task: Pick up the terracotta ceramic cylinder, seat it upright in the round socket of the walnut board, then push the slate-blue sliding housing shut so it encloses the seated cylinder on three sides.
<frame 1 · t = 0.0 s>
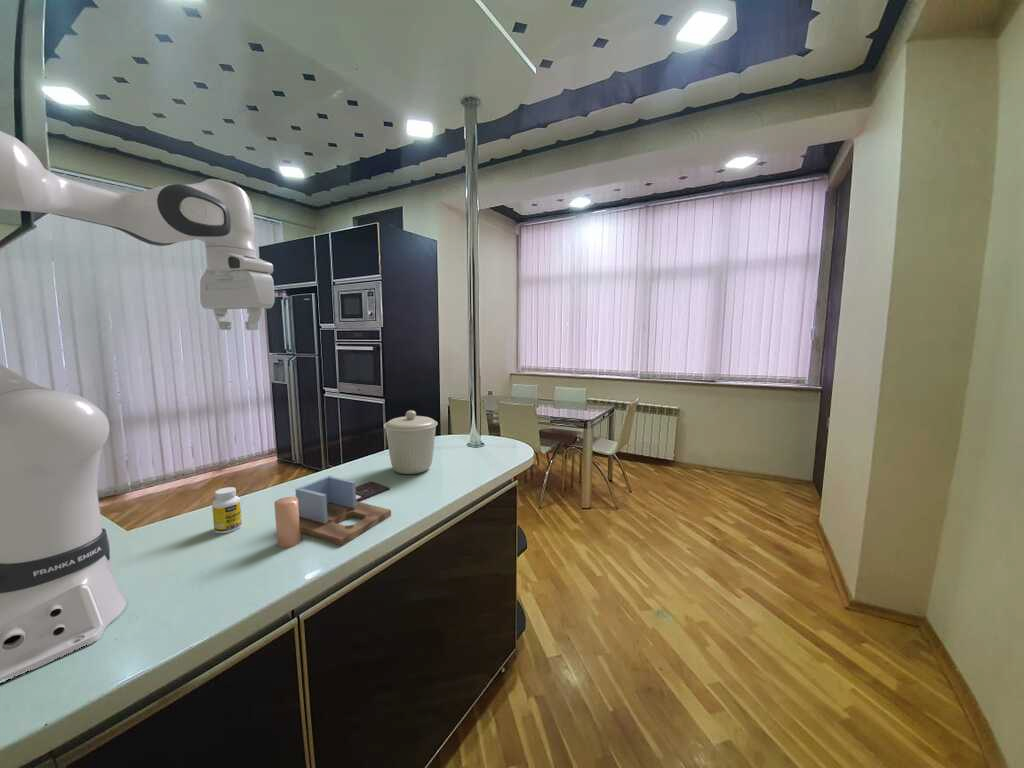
hand: (238, 330, 84), 48 cm above the counter, fingers open, 8 cm apart
supplement bottle: (228, 529, 93), on the counter
socket board: (338, 521, 98), on the counter
peg: (289, 542, 87), on the counter
canister: (412, 469, 135), on the counter
housing: (326, 498, 98), point 5 cm above the counter, slide at 0.0 cm
chocolate bar: (354, 498, 113), on the counter
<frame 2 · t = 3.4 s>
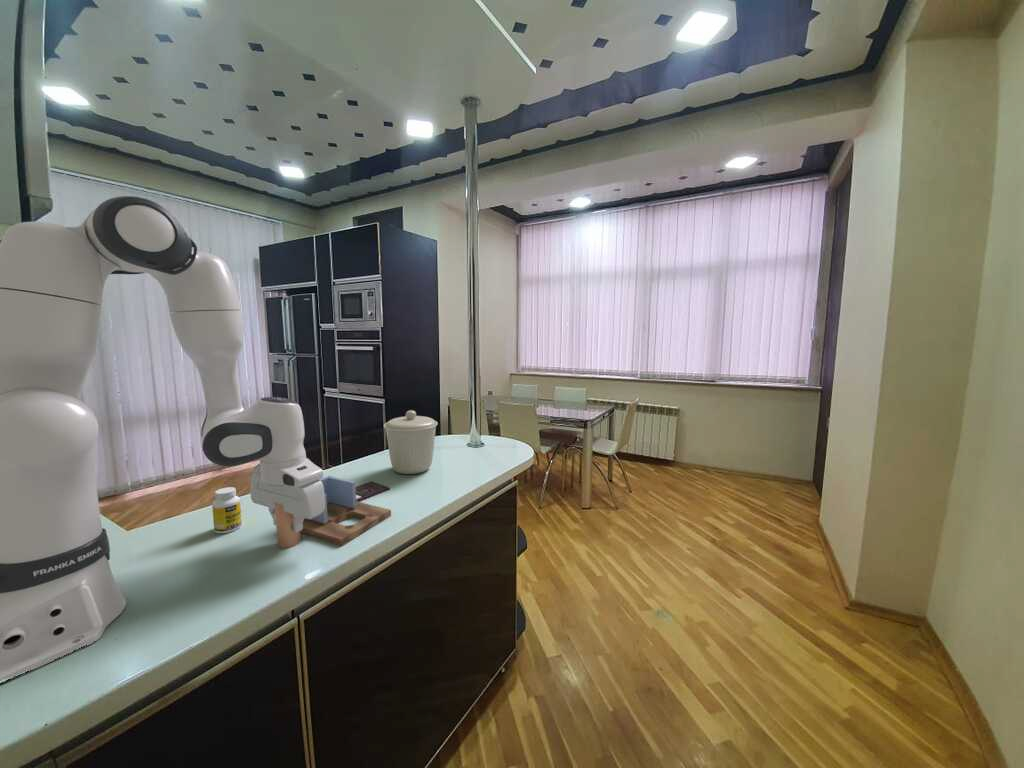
hand: (288, 527, 87), 4 cm above the counter, fingers closed on peg, 5 cm apart
peg: (289, 542, 87), on the counter, touching gripper
everything else where it was.
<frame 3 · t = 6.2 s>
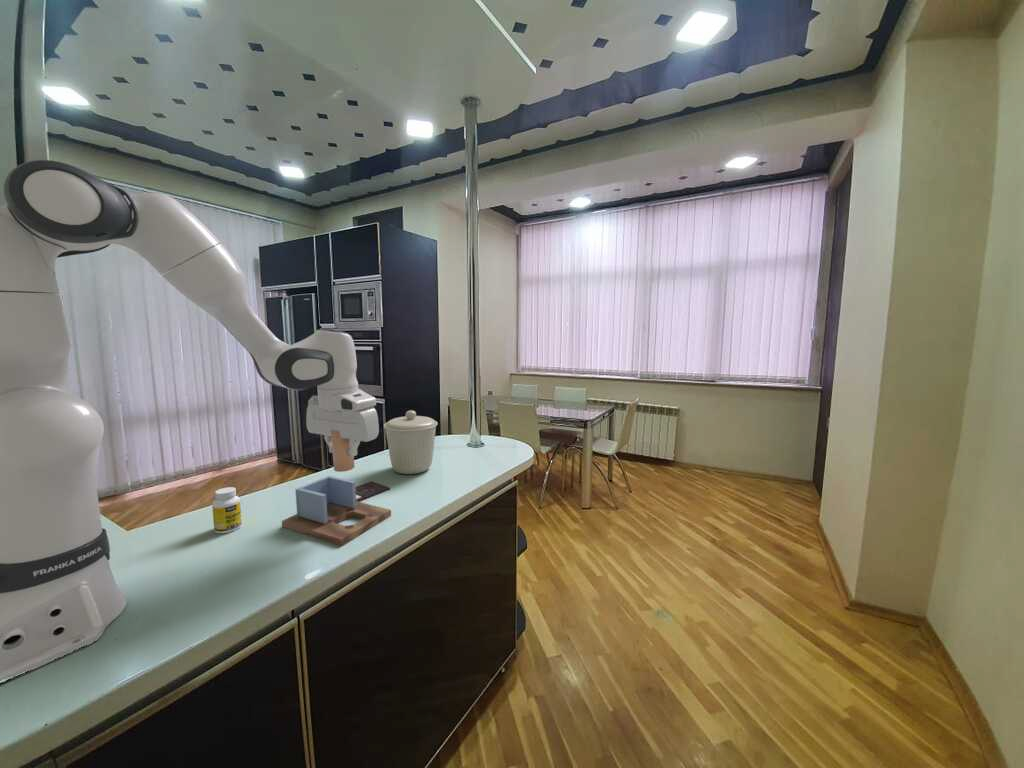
hand: (343, 454, 93), 18 cm above the counter, fingers closed on peg, 5 cm apart
peg: (344, 468, 94), point 15 cm above the counter, touching gripper
everything else where it was.
when the fingers open (5 cm above the counter, at t = 9.0 s): peg drops 1 cm, resting in socket board.
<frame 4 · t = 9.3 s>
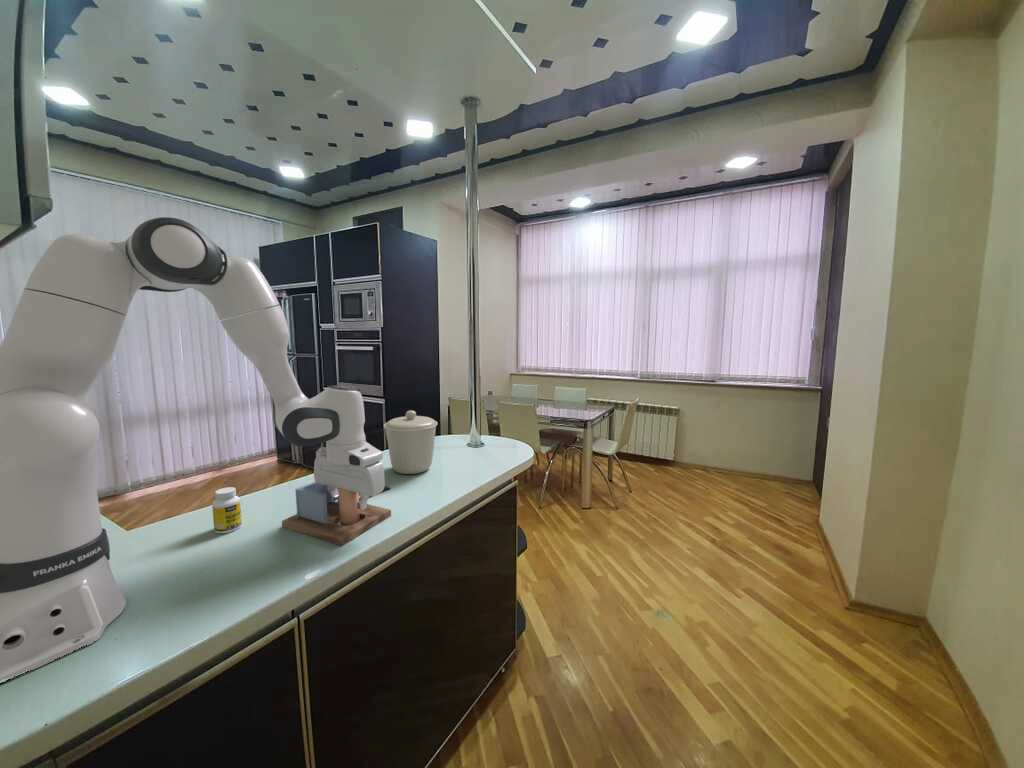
hand: (349, 505, 95), 5 cm above the counter, fingers open, 7 cm apart
peg: (350, 524, 96), resting in socket board
everything else where it was.
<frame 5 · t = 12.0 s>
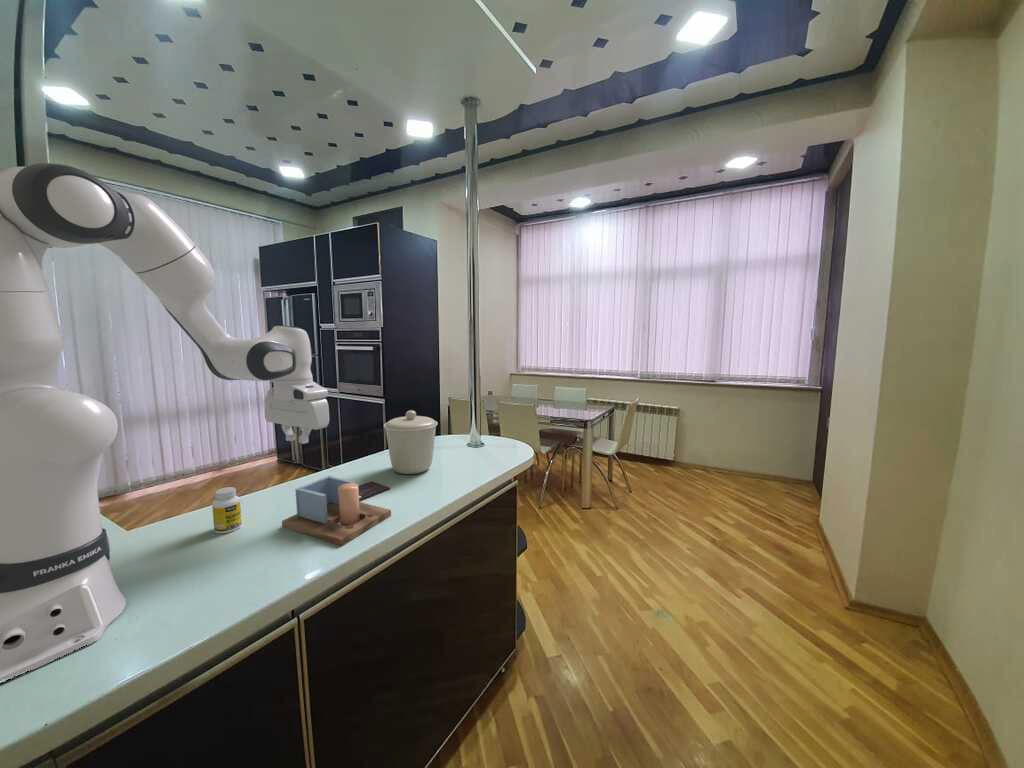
hand: (297, 441, 100), 19 cm above the counter, fingers open, 3 cm apart
nothing on the counter moved.
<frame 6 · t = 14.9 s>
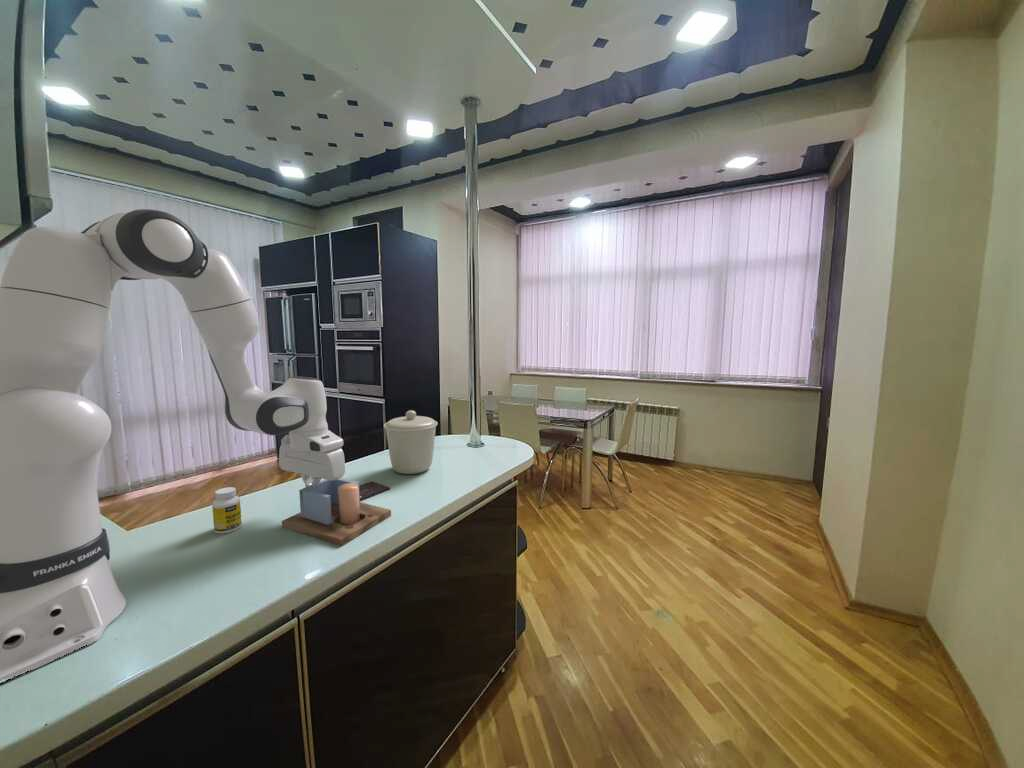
hand: (312, 490, 100), 7 cm above the counter, fingers closed
housing: (330, 499, 98), point 5 cm above the counter, slide at 1.4 cm, touching gripper
everything else where it was.
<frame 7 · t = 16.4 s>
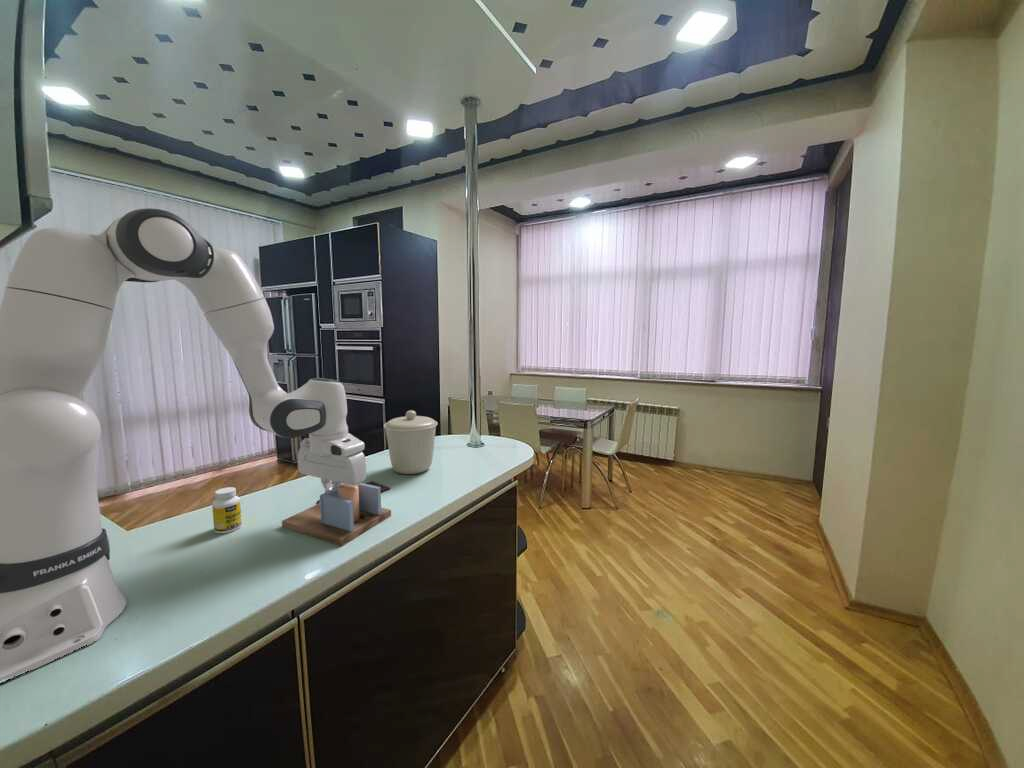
hand: (332, 495, 97), 7 cm above the counter, fingers closed
housing: (351, 504, 95), point 5 cm above the counter, slide at 8.5 cm, touching gripper
everything else where it was.
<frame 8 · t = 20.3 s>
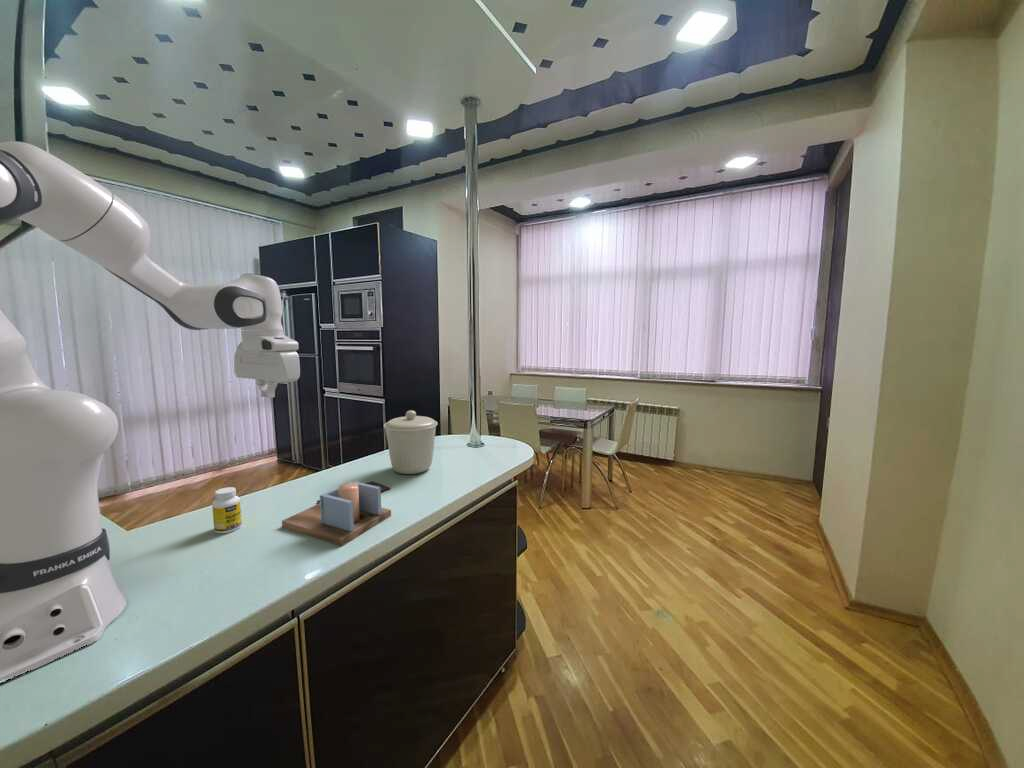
hand: (267, 397, 97), 31 cm above the counter, fingers closed
housing: (351, 504, 95), point 5 cm above the counter, slide at 8.5 cm
everything else where it was.
at the end: peg 0.0 cm from the target spot on the socket board, point 0.0 cm above the socket board's base; peg tilted 0°; housing slide at 8.5 cm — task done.
